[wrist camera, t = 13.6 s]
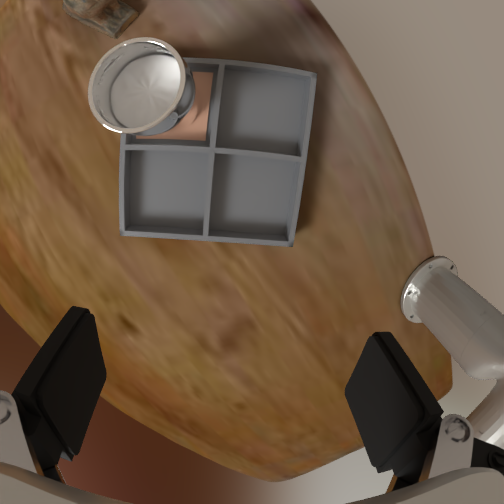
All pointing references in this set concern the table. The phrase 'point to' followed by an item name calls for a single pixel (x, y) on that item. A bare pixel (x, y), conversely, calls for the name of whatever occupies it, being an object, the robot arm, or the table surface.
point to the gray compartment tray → (224, 159)
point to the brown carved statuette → (102, 15)
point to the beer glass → (143, 89)
